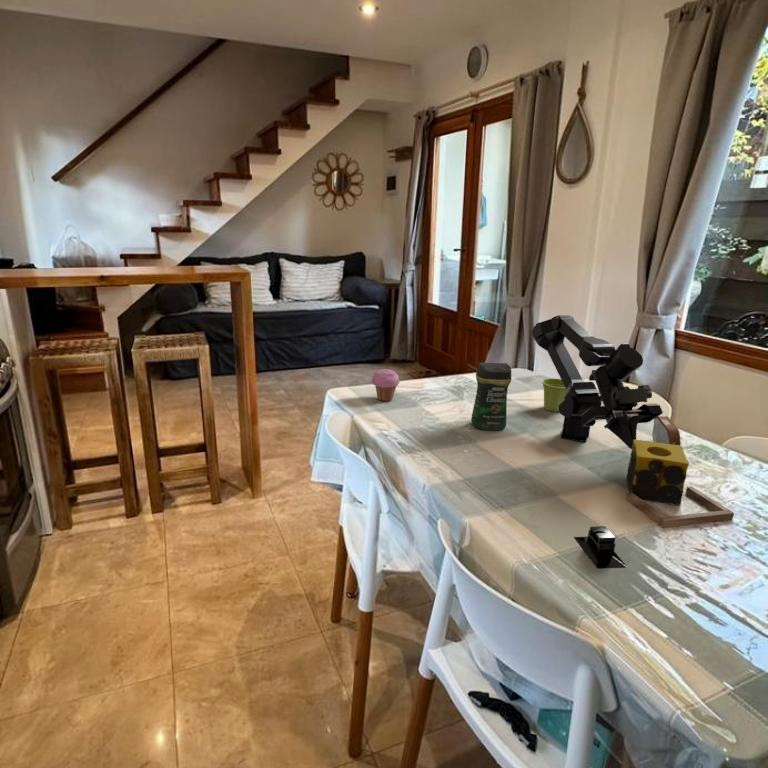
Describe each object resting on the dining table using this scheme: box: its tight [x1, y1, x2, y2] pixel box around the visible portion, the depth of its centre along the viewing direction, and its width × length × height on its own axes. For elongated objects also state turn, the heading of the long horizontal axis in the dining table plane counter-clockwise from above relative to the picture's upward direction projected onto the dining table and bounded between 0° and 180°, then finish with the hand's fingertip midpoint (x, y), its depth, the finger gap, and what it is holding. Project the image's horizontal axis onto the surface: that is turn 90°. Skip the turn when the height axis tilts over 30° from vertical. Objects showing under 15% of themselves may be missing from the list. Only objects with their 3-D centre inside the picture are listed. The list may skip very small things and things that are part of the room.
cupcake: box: [371, 368, 400, 402], centre depth 169 cm, size 9×9×10 cm
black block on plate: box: [573, 525, 629, 570], centre depth 95 cm, size 12×7×5 cm, turn 6°
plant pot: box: [541, 377, 566, 413], centre depth 166 cm, size 9×9×9 cm
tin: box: [652, 415, 682, 446], centre depth 137 cm, size 15×3×8 cm, turn 168°
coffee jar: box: [470, 362, 512, 431], centre depth 149 cm, size 10×8×19 cm
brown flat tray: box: [625, 485, 735, 528], centre depth 110 cm, size 11×16×2 cm
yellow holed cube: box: [626, 439, 690, 506], centre depth 116 cm, size 10×10×10 cm
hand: (633, 448), depth 123 cm, fingers closed
